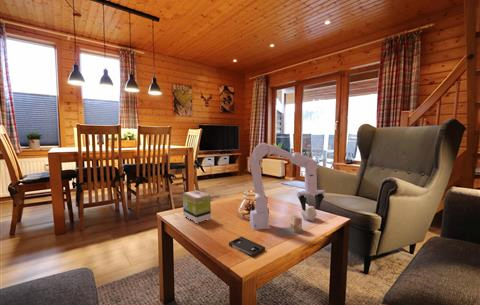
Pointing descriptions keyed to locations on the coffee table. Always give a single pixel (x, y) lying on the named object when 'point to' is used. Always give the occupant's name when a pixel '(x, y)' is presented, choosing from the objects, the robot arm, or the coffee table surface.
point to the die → (309, 213)
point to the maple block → (296, 223)
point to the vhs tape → (247, 246)
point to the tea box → (197, 206)
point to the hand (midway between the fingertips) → (310, 209)
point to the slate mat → (288, 232)
